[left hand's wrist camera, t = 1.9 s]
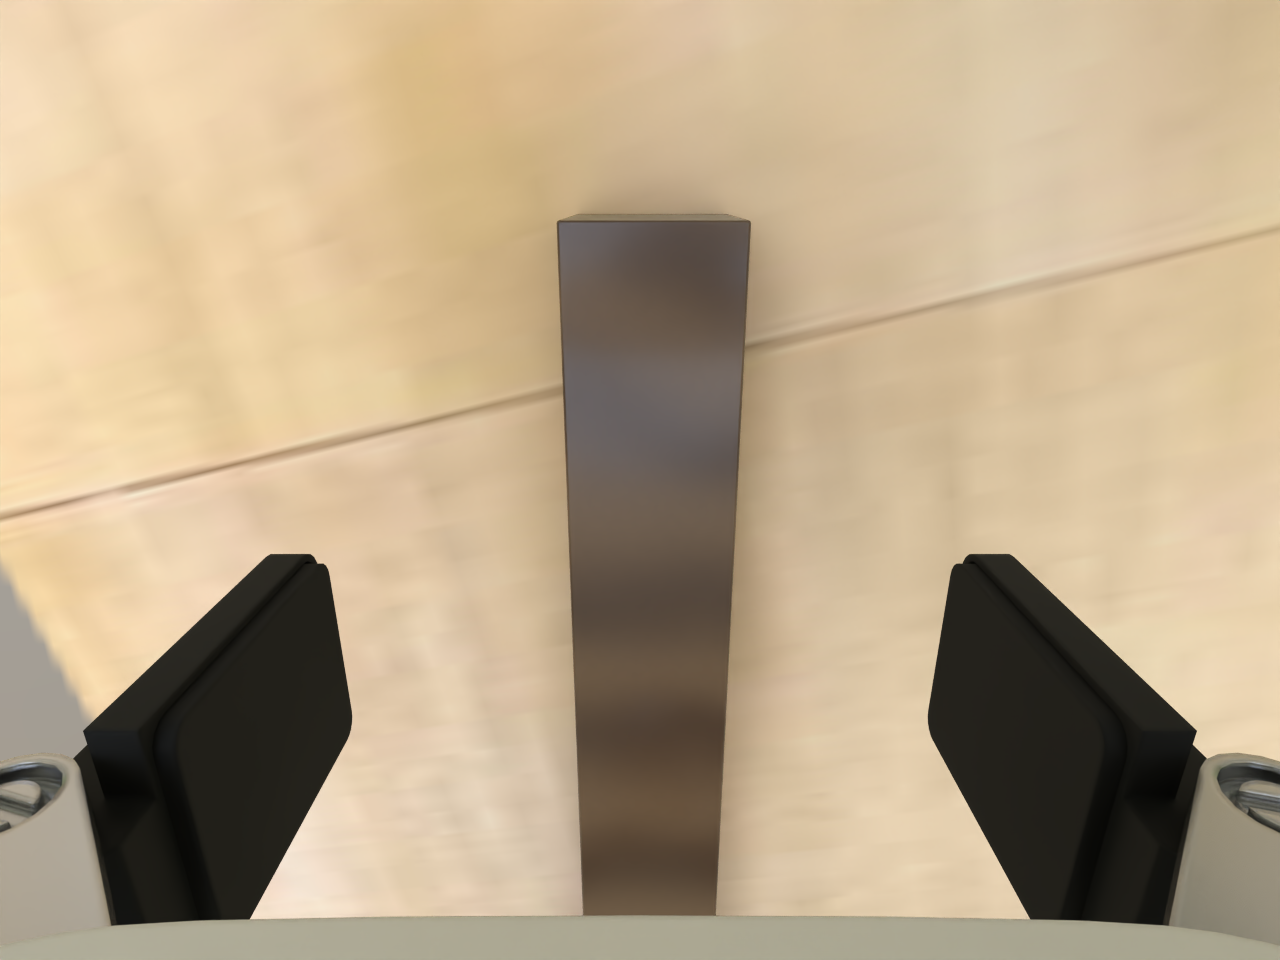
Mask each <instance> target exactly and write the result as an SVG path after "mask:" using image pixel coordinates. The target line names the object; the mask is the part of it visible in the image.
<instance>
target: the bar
mask: <svg viewBox="0 0 1280 960" xmlns="http://www.w3.org/2000/svg"><path fill="white" fill-rule="evenodd" d="M750 231H751V222H750V221H749V220H745V219H742V218H738V217H735V216H731V215H728V214H577V215H574V216H571V217H568V218H565V219H562V220H559V221H557V243H558V269H559V295H560V322H561V348H562V374H563V400H564V426H565V453H566V479H567V505H568V531H569V558H570V584H571V610H572V636H573V663H574V689H575V715H576V741H577V767H578V794H579V820H580V846H581V872H582V899H583V916H638V915H642V916H716V898H717V878H718V858H719V839H720V819H721V800H722V780H723V761H724V741H725V721H726V702H727V682H728V663H729V643H730V623H731V604H732V584H733V565H734V545H735V525H736V506H737V486H738V467H739V447H740V427H741V408H742V388H743V369H744V349H745V329H746V310H747V290H748V271H749V251H750Z"/></svg>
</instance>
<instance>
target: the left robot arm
mask: <svg viewBox="0 0 1280 960" xmlns="http://www.w3.org/2000/svg"><path fill="white" fill-rule="evenodd" d="M351 725H352V710H351V704H350V698H349V692H348V686H347V679H346V673H345V667H344V661H343V655H342V649H341V643H340V637H339V631H338V624H337V618H336V612H335V606H334V600H333V594H332V588H331V582H330V576H329V571H328V569H327V567H326V565H324V564H317V562H316V560H315V558H314V557H313V556H312V555H311V554H270V555H268V556H267V557H266V558H265V559H263V560H262V561H261V562H260V563H259V564H258V565H257V566H256V567H255V568H254V569H253V570H252V571H251V572H250V573H249V574H248V575H247V576H246V577H245V578H243V579H242V580H241V581H240V582H239V583H238V584H237V585H236V586H235V587H234V588H233V589H232V590H231V591H230V592H229V593H228V594H227V595H226V596H225V597H223V598H222V599H221V600H220V601H219V602H218V603H217V604H216V605H215V606H214V607H213V608H212V609H211V610H210V611H209V612H208V613H207V614H206V615H205V616H203V617H202V618H201V619H200V620H199V621H198V622H197V623H196V624H195V625H194V626H193V627H192V628H191V629H190V630H189V631H188V632H187V633H186V634H185V635H183V636H182V637H181V638H180V639H179V640H178V641H177V642H176V643H175V644H174V645H173V646H172V647H171V648H170V649H169V650H168V651H167V652H166V653H165V654H163V655H162V656H161V657H160V658H159V659H158V660H157V661H156V662H155V663H154V664H153V665H152V666H151V667H150V668H149V669H148V670H147V671H146V672H145V673H144V674H142V675H141V676H140V677H139V678H138V679H137V680H136V681H135V682H134V683H133V684H132V685H131V686H130V687H129V688H128V689H127V690H126V691H125V692H124V693H122V694H121V695H120V696H119V697H118V698H117V699H116V700H115V701H114V702H113V703H112V704H111V705H110V706H109V707H108V708H107V709H106V710H105V711H104V712H102V713H101V714H100V715H99V716H98V717H97V718H96V719H95V720H94V721H93V722H92V723H91V724H90V725H89V726H88V727H87V728H86V729H85V730H84V731H83V732H84V735H85V738H86V741H87V746H86V747H85V748H83V750H81V751H80V752H79V753H78V754H77V755H76V756H75V757H74V758H73V759H72V758H69V757H67V756H65V755H62V754H52V753H38V754H31V755H24V756H18V757H14V758H11V759H7V760H4V761H1V762H0V960H1280V762H1279V761H1276V760H1273V759H1269V758H1266V757H1262V756H1256V755H1249V754H1242V753H1228V754H1218V755H1215V756H1213V757H1211V758H1208V759H1207V758H1206V757H1205V756H1204V755H1203V754H1202V753H1201V752H1200V751H1199V750H1198V749H1197V748H1195V747H1194V746H1193V742H1194V738H1195V735H1196V732H1197V731H1196V730H1195V729H1194V728H1193V727H1192V726H1191V725H1190V724H1189V723H1188V722H1187V721H1186V720H1185V719H1184V718H1183V717H1182V716H1181V715H1180V714H1179V713H1178V712H1176V711H1175V710H1174V709H1173V708H1172V707H1171V706H1170V705H1169V704H1168V703H1167V702H1166V701H1165V700H1164V699H1163V698H1162V697H1161V696H1160V695H1159V694H1158V693H1156V692H1155V691H1154V690H1153V689H1152V688H1151V687H1150V686H1149V685H1148V684H1147V683H1146V682H1145V681H1144V680H1143V679H1142V678H1141V677H1140V676H1139V675H1138V674H1136V673H1135V672H1134V671H1133V670H1132V669H1131V668H1130V667H1129V666H1128V665H1127V664H1126V663H1125V662H1124V661H1123V660H1122V659H1121V658H1120V657H1119V656H1118V655H1116V654H1115V653H1114V652H1113V651H1112V650H1111V649H1110V648H1109V647H1108V646H1107V645H1106V644H1105V643H1104V642H1103V641H1102V640H1101V639H1100V638H1099V637H1098V636H1096V635H1095V634H1094V633H1093V632H1092V631H1091V630H1090V629H1089V628H1088V627H1087V626H1086V625H1085V624H1084V623H1083V622H1082V621H1081V620H1080V619H1079V618H1078V617H1077V616H1075V615H1074V614H1073V613H1072V612H1071V611H1070V610H1069V609H1068V608H1067V607H1066V606H1065V605H1064V604H1063V603H1062V602H1061V601H1060V600H1059V599H1058V598H1057V597H1055V596H1054V595H1053V594H1052V593H1051V592H1050V591H1049V590H1048V589H1047V588H1046V587H1045V586H1044V585H1043V584H1042V583H1041V582H1040V581H1039V580H1038V579H1037V578H1035V577H1034V576H1033V575H1032V574H1031V573H1030V572H1029V571H1028V570H1027V569H1026V568H1025V567H1024V566H1023V565H1022V564H1021V563H1020V562H1019V561H1018V560H1017V559H1015V558H1014V557H1013V556H1011V555H1010V554H969V555H968V556H967V557H966V558H965V560H964V562H963V564H956V565H954V567H953V569H952V571H951V576H950V582H949V588H948V594H947V600H946V606H945V612H944V618H943V624H942V631H941V637H940V643H939V649H938V655H937V661H936V667H935V673H934V679H933V686H932V692H931V698H930V704H929V710H928V725H929V731H930V734H931V737H932V739H933V741H934V743H935V745H936V747H937V749H938V750H939V752H940V754H941V756H942V758H943V760H944V761H945V763H946V765H947V767H948V769H949V771H950V772H951V774H952V776H953V778H954V780H955V782H956V784H957V785H958V787H959V789H960V791H961V793H962V795H963V796H964V798H965V800H966V802H967V804H968V806H969V807H970V809H971V811H972V813H973V815H974V817H975V818H976V820H977V822H978V824H979V826H980V828H981V829H982V831H983V833H984V835H985V837H986V839H987V840H988V842H989V844H990V846H991V848H992V850H993V852H994V853H995V855H996V857H997V859H998V861H999V863H1000V864H1001V866H1002V868H1003V870H1004V872H1005V874H1006V875H1007V877H1008V879H1009V881H1010V883H1011V885H1012V886H1013V888H1014V890H1015V892H1016V894H1017V896H1018V897H1019V899H1020V901H1021V903H1022V905H1023V907H1024V908H1025V910H1026V912H1027V914H1028V916H1029V918H1030V919H980V918H930V917H844V916H642V915H638V916H436V917H350V918H300V919H250V918H251V916H252V914H253V912H254V910H255V908H256V907H257V905H258V903H259V901H260V899H261V897H262V896H263V894H264V892H265V890H266V888H267V886H268V885H269V883H270V881H271V879H272V877H273V875H274V874H275V872H276V870H277V868H278V866H279V864H280V863H281V861H282V859H283V857H284V855H285V853H286V852H287V850H288V848H289V846H290V844H291V842H292V840H293V839H294V837H295V835H296V833H297V831H298V829H299V828H300V826H301V824H302V822H303V820H304V818H305V817H306V815H307V813H308V811H309V809H310V807H311V806H312V804H313V802H314V800H315V798H316V796H317V795H318V793H319V791H320V789H321V787H322V785H323V784H324V782H325V780H326V778H327V776H328V774H329V772H330V771H331V769H332V767H333V765H334V763H335V761H336V760H337V758H338V756H339V754H340V752H341V750H342V749H343V747H344V745H345V743H346V741H347V739H348V737H349V734H350V731H351Z"/></svg>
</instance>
